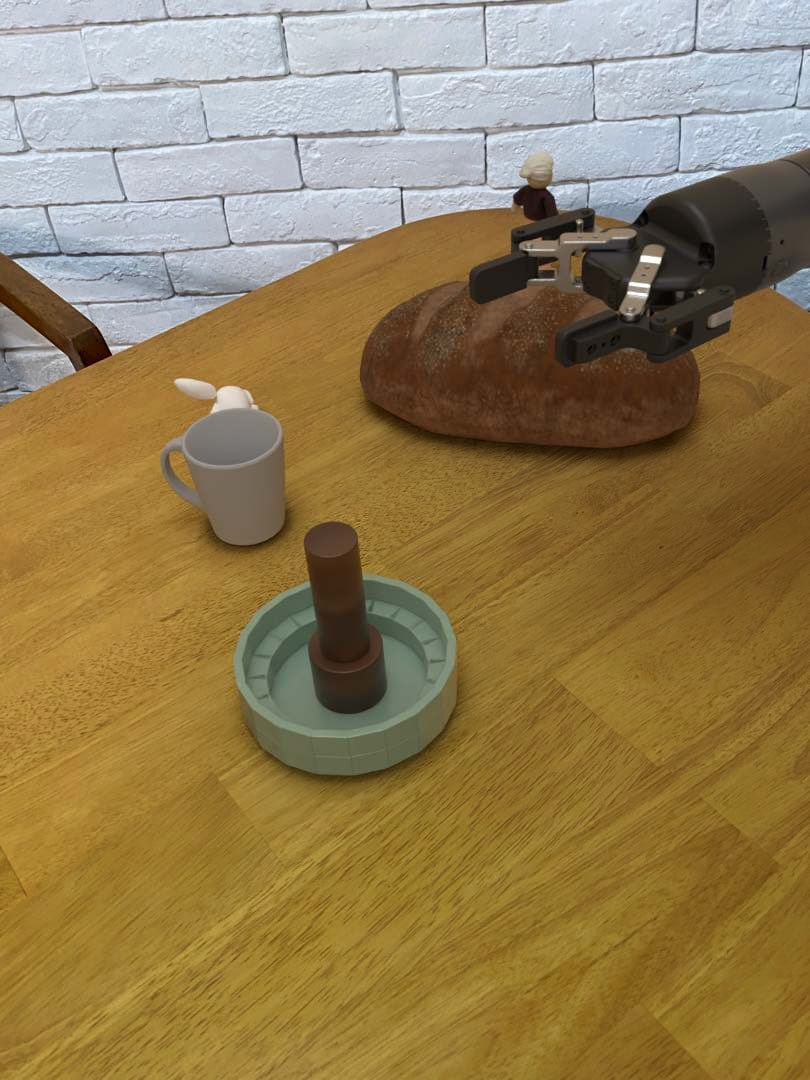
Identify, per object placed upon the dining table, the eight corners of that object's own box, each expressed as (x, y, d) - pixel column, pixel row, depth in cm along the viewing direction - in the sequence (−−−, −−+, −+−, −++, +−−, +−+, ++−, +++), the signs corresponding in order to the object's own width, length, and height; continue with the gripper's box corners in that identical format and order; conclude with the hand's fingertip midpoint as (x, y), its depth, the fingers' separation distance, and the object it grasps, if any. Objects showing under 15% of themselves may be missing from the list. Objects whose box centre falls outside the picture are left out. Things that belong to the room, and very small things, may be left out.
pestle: (400, 694, 74) (386, 545, 65) (336, 725, 72) (313, 577, 64) (364, 649, 77) (346, 502, 69) (302, 678, 75) (276, 532, 67)
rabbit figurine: (280, 428, 99) (207, 431, 93) (255, 451, 101) (183, 455, 95) (254, 370, 100) (181, 370, 94) (231, 394, 103) (158, 395, 97)
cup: (281, 560, 86) (265, 471, 80) (158, 548, 88) (134, 460, 82) (308, 497, 91) (295, 410, 86) (192, 487, 93) (172, 401, 88)
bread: (688, 476, 90) (704, 354, 83) (340, 438, 97) (326, 322, 90) (701, 371, 101) (717, 255, 94) (388, 343, 108) (379, 233, 101)
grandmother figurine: (577, 276, 116) (582, 155, 108) (552, 290, 114) (555, 168, 106) (521, 253, 120) (522, 136, 112) (497, 266, 119) (496, 148, 110)
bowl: (499, 718, 73) (499, 672, 70) (304, 820, 68) (295, 774, 65) (389, 592, 82) (385, 546, 79) (211, 674, 77) (199, 628, 74)
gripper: (659, 141, 72) (443, 211, 66) (829, 220, 62) (595, 310, 57) (649, 249, 77) (448, 323, 71) (806, 338, 67) (588, 432, 62)
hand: (513, 317), depth 64 cm, fingers open, 8 cm apart
